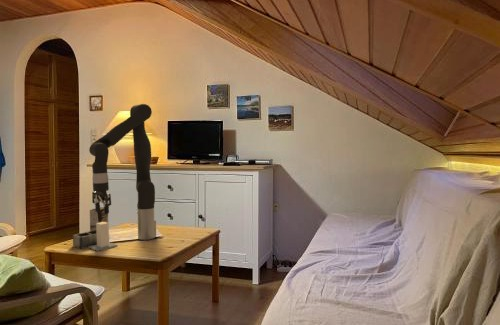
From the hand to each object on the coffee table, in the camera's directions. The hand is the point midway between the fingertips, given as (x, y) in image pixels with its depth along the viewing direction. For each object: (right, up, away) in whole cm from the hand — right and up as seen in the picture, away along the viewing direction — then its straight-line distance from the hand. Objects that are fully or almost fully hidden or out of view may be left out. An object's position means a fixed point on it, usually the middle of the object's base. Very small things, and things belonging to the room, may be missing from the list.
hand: (102, 212), depth 197 cm
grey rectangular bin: (-9, -18, +6) cm, 21 cm away
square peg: (0, -17, +2) cm, 18 cm away
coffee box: (-10, -17, +23) cm, 30 cm away
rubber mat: (0, -18, +2) cm, 18 cm away
